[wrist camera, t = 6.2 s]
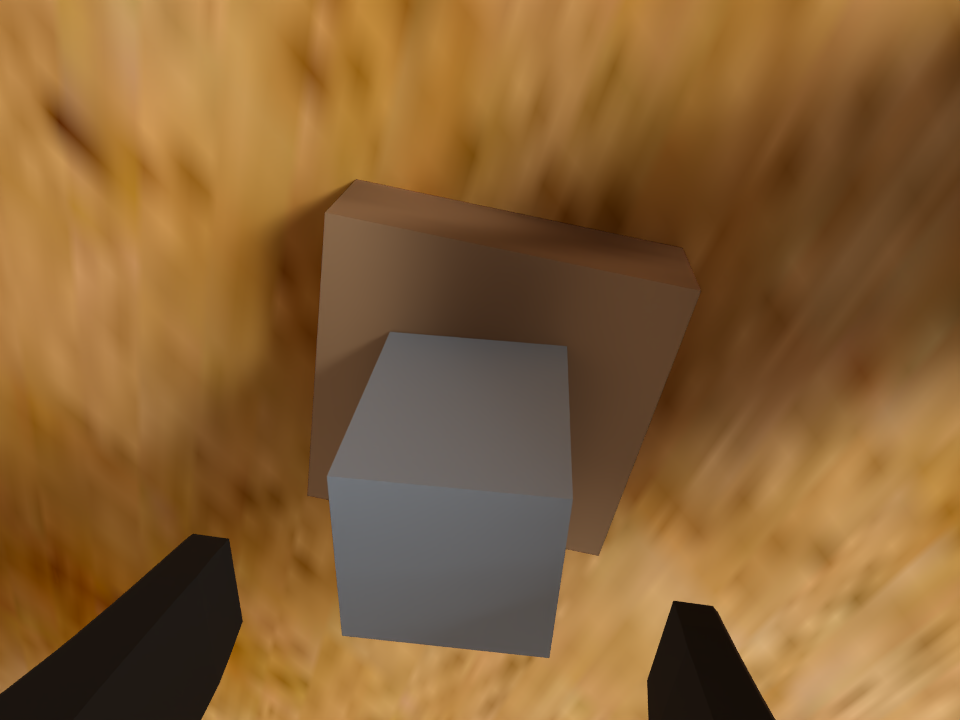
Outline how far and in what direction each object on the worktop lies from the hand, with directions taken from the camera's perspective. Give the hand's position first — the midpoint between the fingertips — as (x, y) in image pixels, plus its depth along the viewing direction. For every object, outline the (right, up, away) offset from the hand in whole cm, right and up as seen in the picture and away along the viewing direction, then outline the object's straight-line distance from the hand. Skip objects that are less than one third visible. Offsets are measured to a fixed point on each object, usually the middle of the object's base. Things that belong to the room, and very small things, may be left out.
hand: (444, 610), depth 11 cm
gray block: (0, +3, +5) cm, 6 cm away
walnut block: (+1, +4, +8) cm, 9 cm away
